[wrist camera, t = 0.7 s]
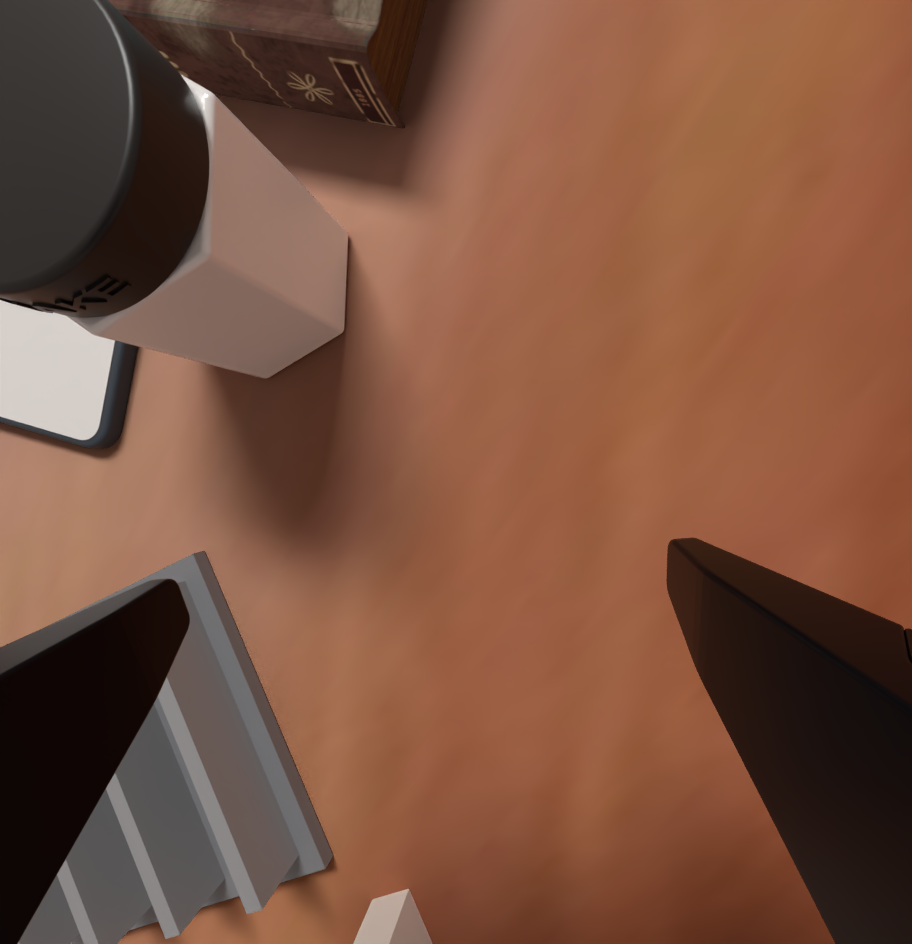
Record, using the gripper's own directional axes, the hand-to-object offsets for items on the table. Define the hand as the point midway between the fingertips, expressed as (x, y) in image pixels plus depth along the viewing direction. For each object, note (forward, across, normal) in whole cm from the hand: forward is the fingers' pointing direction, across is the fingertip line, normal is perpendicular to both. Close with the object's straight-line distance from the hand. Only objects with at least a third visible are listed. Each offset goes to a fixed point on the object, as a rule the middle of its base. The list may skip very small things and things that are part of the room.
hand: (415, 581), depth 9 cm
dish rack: (+11, +18, +16) cm, 27 cm away
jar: (+18, +8, -6) cm, 20 cm away
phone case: (+20, +24, -4) cm, 31 cm away
